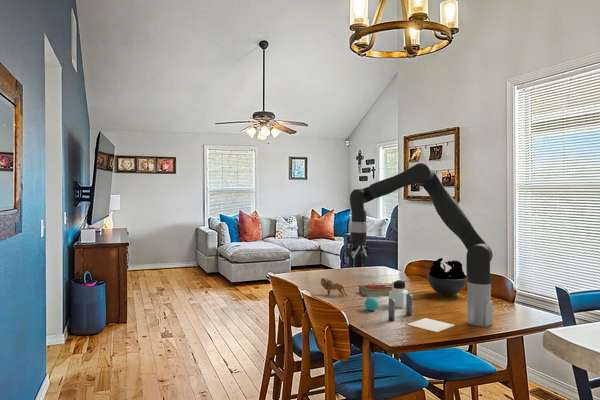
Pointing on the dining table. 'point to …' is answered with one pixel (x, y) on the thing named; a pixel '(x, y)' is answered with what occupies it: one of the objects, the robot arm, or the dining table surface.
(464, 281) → the coal bowl
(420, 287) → the dining table surface
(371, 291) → the hardcover book
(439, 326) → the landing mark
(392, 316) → the left post
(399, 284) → the medicine bottle
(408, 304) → the right post
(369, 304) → the ball
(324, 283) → the lion figurine
